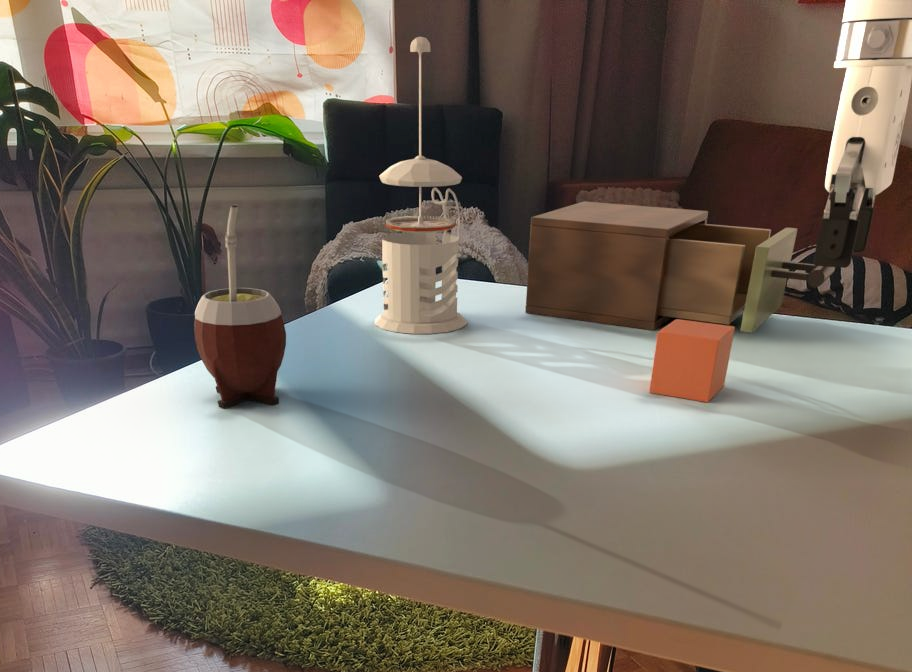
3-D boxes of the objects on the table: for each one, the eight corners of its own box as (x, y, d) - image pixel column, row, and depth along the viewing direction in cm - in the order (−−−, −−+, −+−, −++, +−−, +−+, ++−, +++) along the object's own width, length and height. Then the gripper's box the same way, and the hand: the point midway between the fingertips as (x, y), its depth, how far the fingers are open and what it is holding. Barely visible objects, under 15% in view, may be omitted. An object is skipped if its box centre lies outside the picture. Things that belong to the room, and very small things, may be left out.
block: (724, 386, 76) (735, 326, 73) (708, 402, 72) (719, 340, 70) (667, 377, 78) (676, 318, 75) (648, 392, 75) (657, 331, 72)
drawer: (829, 311, 95) (848, 232, 91) (805, 339, 86) (825, 252, 81) (661, 291, 103) (671, 218, 99) (621, 315, 93) (631, 234, 89)
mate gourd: (243, 379, 77) (221, 185, 69) (316, 394, 74) (302, 192, 65) (181, 403, 72) (149, 196, 63) (256, 420, 68) (233, 204, 60)
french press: (355, 325, 93) (344, 35, 79) (413, 304, 101) (412, 38, 87) (437, 338, 88) (440, 34, 75) (490, 315, 97) (502, 38, 83)
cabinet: (693, 302, 102) (708, 211, 97) (653, 330, 92) (667, 229, 87) (575, 288, 109) (583, 201, 103) (525, 312, 98) (530, 217, 93)
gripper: (920, 43, 70) (868, 276, 79) (939, 47, 82) (892, 247, 91) (819, 47, 73) (780, 270, 82) (852, 51, 86) (815, 243, 95)
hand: (839, 258), depth 87 cm, fingers open, 9 cm apart
